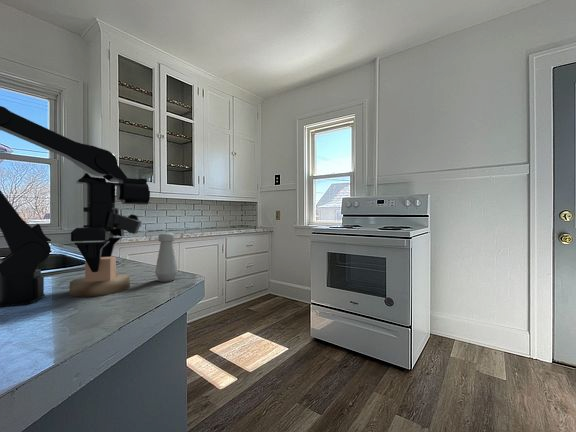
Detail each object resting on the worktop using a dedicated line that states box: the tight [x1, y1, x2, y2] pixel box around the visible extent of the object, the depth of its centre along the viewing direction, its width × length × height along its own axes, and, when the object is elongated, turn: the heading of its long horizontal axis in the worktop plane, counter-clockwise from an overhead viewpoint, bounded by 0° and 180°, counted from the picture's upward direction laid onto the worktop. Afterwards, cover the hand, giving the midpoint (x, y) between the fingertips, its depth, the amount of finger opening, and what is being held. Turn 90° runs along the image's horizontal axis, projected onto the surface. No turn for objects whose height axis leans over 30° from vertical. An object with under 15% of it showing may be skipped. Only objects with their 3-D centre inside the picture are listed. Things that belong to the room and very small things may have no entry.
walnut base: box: [69, 273, 131, 298], centre depth 67 cm, size 12×12×2 cm
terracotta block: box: [84, 256, 117, 282], centre depth 67 cm, size 5×5×5 cm
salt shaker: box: [154, 232, 179, 282], centre depth 78 cm, size 6×6×13 cm
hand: (101, 268), depth 67 cm, fingers open, 8 cm apart
